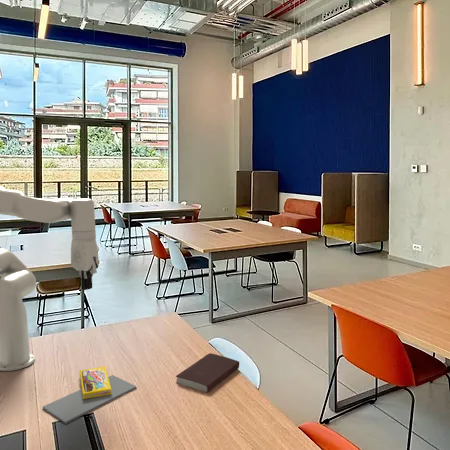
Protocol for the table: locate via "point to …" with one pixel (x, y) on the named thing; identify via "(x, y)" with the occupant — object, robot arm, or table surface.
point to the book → (207, 372)
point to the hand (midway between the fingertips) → (87, 288)
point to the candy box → (95, 382)
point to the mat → (86, 401)
